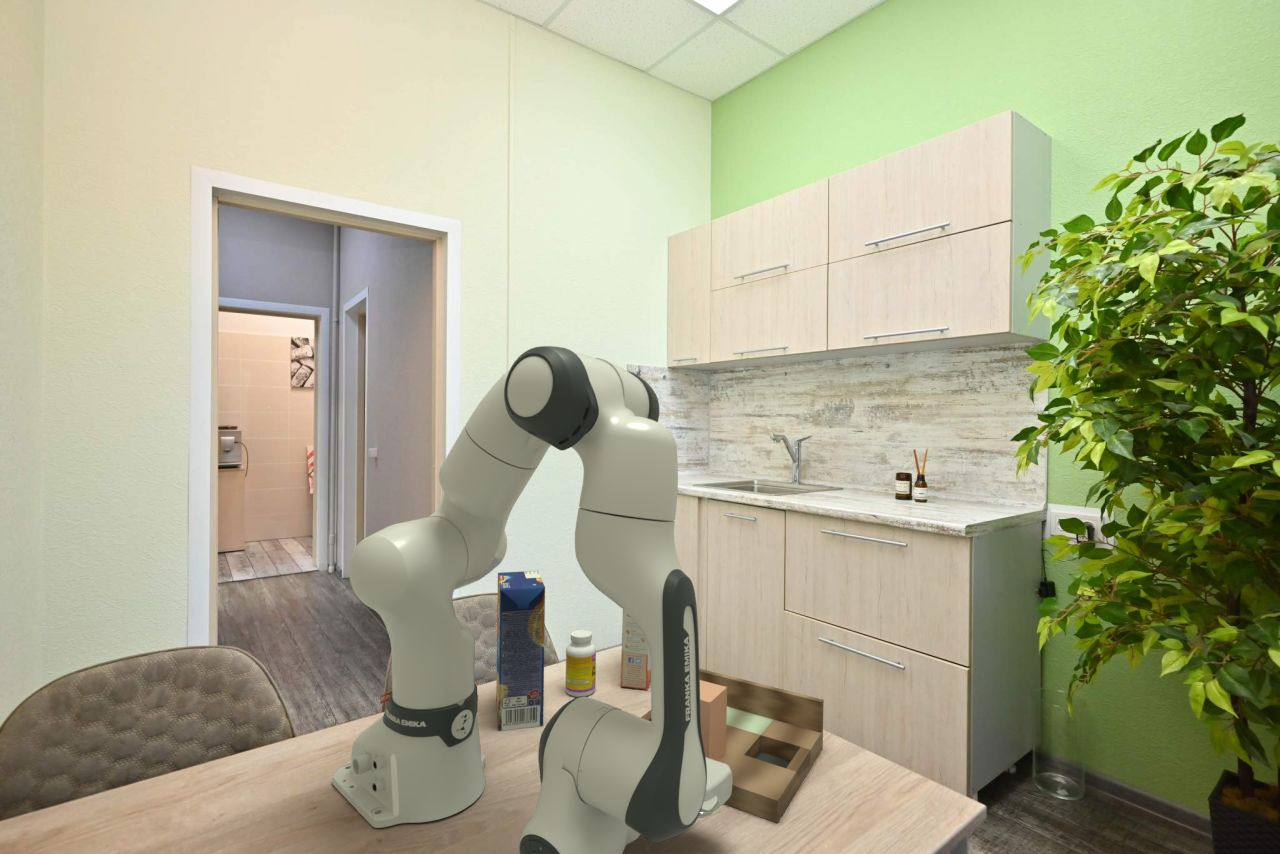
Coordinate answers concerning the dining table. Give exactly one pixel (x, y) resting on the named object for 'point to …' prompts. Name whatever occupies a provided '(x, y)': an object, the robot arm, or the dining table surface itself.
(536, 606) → the juice carton
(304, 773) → the dining table surface
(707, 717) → the terracotta block
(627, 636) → the cracker box
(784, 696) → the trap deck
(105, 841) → the dining table surface
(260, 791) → the dining table surface
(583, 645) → the supplement bottle
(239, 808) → the dining table surface
